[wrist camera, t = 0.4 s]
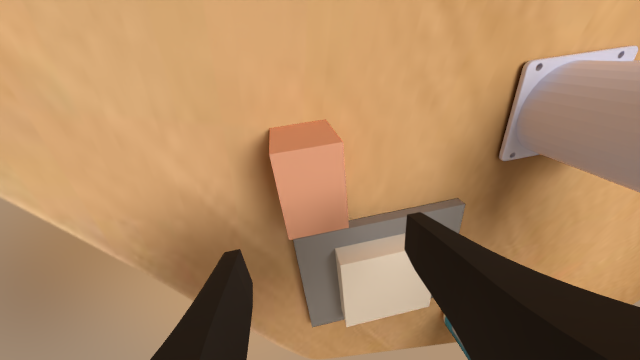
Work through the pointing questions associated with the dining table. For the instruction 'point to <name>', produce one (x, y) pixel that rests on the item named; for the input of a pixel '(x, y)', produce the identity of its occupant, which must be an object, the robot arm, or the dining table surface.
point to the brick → (309, 177)
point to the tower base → (356, 232)
